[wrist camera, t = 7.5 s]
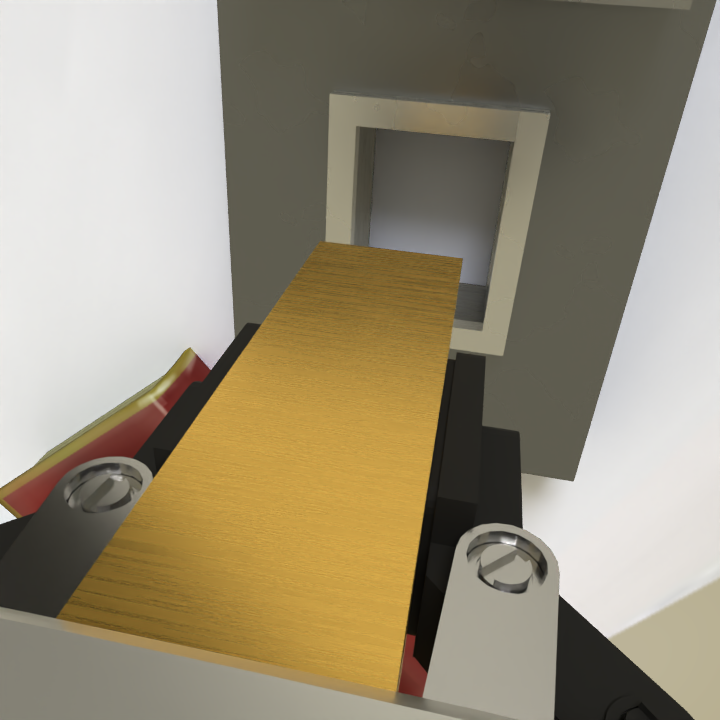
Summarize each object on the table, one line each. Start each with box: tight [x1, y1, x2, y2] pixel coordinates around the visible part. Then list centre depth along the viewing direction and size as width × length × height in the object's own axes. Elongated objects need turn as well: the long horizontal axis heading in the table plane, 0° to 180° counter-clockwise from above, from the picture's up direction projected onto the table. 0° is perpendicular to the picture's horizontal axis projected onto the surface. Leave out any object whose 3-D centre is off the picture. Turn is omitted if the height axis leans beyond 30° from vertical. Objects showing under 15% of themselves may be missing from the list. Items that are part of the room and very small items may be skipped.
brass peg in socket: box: [56, 241, 463, 692], centre depth 10 cm, size 4×3×11 cm, turn 177°
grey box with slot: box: [217, 0, 716, 481], centre depth 21 cm, size 18×13×5 cm
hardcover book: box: [0, 348, 428, 697], centre depth 33 cm, size 12×21×4 cm, turn 37°
